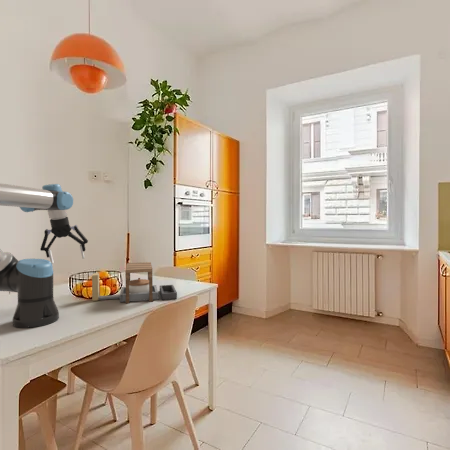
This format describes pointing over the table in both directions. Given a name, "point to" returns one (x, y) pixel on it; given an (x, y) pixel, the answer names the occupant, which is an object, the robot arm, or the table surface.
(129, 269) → the tunnel
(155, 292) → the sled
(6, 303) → the table surface
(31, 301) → the robot arm
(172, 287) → the box
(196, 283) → the table surface
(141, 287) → the lidded jar
